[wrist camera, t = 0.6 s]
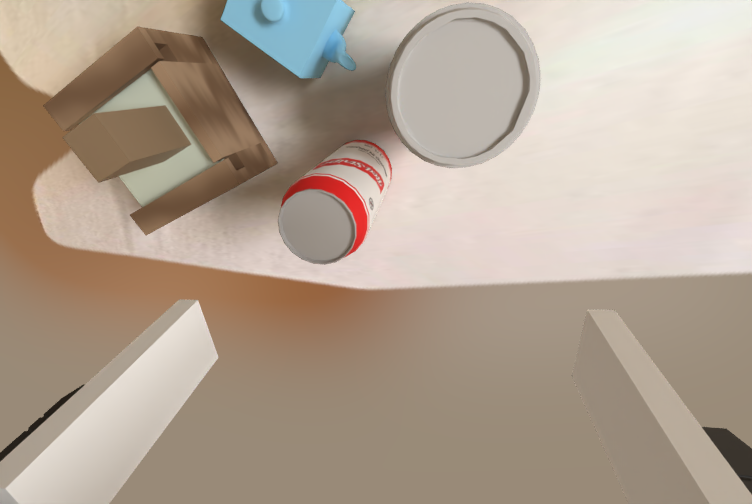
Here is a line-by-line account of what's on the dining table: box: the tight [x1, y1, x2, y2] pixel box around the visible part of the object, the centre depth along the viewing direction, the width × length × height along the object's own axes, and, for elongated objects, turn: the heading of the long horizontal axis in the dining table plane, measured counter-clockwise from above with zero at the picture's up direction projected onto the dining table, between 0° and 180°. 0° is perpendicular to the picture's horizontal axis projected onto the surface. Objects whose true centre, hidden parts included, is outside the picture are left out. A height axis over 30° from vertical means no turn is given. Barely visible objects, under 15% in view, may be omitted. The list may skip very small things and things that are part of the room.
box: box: [43, 27, 277, 235], centre depth 34 cm, size 13×12×8 cm
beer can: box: [278, 140, 392, 264], centre depth 30 cm, size 6×6×16 cm
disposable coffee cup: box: [386, 2, 540, 168], centre depth 27 cm, size 10×10×12 cm
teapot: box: [220, 0, 356, 78], centre depth 28 cm, size 12×6×8 cm, turn 56°
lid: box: [63, 69, 224, 207], centre depth 29 cm, size 10×10×8 cm
